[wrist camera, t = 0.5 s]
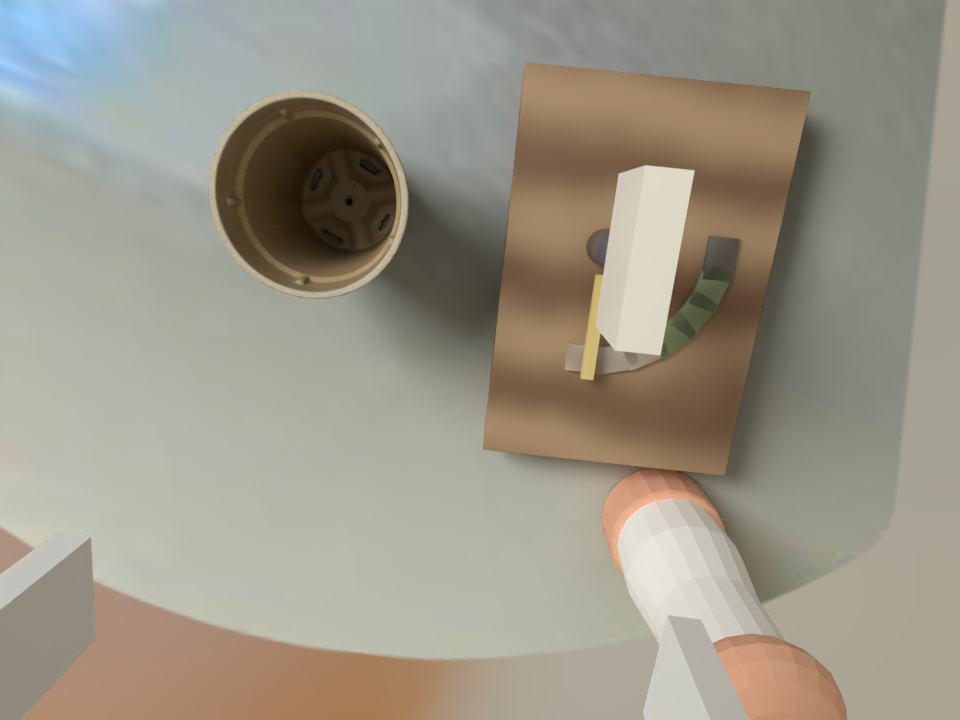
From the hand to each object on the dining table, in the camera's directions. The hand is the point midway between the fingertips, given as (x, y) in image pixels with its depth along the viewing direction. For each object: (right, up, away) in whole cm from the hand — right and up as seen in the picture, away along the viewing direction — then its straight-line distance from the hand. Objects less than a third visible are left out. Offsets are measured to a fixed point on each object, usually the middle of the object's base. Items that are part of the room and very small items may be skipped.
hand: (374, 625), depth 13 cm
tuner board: (+11, +11, +23) cm, 28 cm away
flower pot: (-5, +16, +23) cm, 28 cm away
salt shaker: (+14, -5, +27) cm, 31 cm away
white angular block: (+9, +10, +20) cm, 24 cm away
